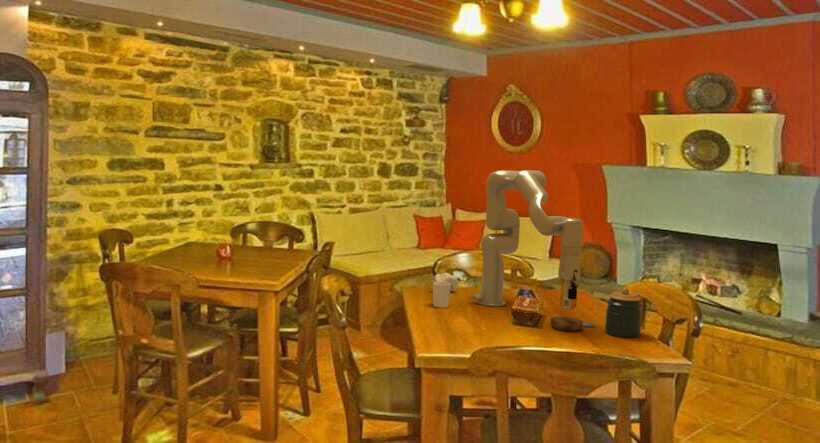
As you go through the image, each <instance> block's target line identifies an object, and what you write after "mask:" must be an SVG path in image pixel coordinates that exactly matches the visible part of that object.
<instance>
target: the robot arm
mask: <svg viewBox="0 0 820 443" xmlns="http://www.w3.org/2000/svg"><path fill="white" fill-rule="evenodd" d="M547 180H548V179H547V177H546V174H544V172H542V171H541V170H529V169H525V170H507V169H505V170H496V171H493V172H491V173H490V174H489V175H488V177H487V178H486V182H485V191H486V211H485V212H486V213H485V215H486V216H485V224H486V227H487V228H488V229H489V231H490V230H491V231H502V232H495V233H488V234H486V235H484V236H483V238H482V239H481V242H480V244H481V246H480V247H481V253H482V273H481V291H479V293H477V294H470V299H473V300H477V301H476V302H477V304H478V305H482V306H484V307H503V306H505V305H506V304H507V301H506V300H504V299H503V293H504V275H505V274H504V273H505V263H504V262H505V261H504V259H503V257H502V256H501V255H508V254H509V255H511V254H514V253H515V252H517V250H518V249H519V243H520V231H521V230H520V226H521V220H520V216H519V213H518V212H517V211H516V210H515V209H513V208H507V198H506V195H505V193H504V191H519V192H520V194H521V196H522V197H523V198H524V199H525V201H526V202H527V204H528V205H529V207H528V213H529V220H530V222H531V223H532V225H533V226H534V227H535V229H536V230H537V232H538V233H540V234H541V235H542V236H545V237H548V236H549V237H551V236H553V237H555V236H561V248H560V258H559V263H558V275H557V276H558V277H559V278H560V279H561V278H562V272H564V280H565V281H569V287H570V289H569V290H568V299H576V298H578V288H579V284H580V279H581V278H580V277H581V256H582V247H583V231H584V229H583V228H584V222H583V220H582V219H580V218H570V217H567V216H563V215H562V216H561V215H560V216H557V215H556V216H555V215H554V216H551V215H550V216H548V215H547V214H546V213H545V211H544V210H543V208H542V206H544V205H545V204H546V202H548V199H549V195H548V192H547V191H546V190H545V188H546V186H547V184H548V181H547ZM572 279H575V280H572ZM572 282H574V283H573V284H572Z"/></svg>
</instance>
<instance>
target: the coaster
mask: <svg viewBox="0 0 820 443" xmlns="http://www.w3.org/2000/svg"><path fill="white" fill-rule="evenodd" d="M582 321H583V327H582V328H594V327H596V323H595V322H591V321H586V320H585V321H584V320H582Z"/></svg>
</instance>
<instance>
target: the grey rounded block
mask: <svg viewBox="0 0 820 443" xmlns="http://www.w3.org/2000/svg"><path fill="white" fill-rule="evenodd" d="M434 282H448V283H451V290H450V291H451V292H454V291H455V290H456V289H457V288H458V285H459V281H458V278H457V277H456V275H453V274H450V273H449V272H444V273H441V274H440V273H437V274H435V276H434Z"/></svg>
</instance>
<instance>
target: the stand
mask: <svg viewBox="0 0 820 443" xmlns="http://www.w3.org/2000/svg"><path fill="white" fill-rule="evenodd" d="M583 321H584V320H582V319H579V318H577V317H572V316H571V317H570V316H560V315H559V316H553V317H552V316H551V318H550V325H551V326H552V327H553V329H554V330H558V331H562V332H568V333H570V332H571V333H573V332H574V333H575V332H578V331H580V330H581V329H583V328H584V327H583Z"/></svg>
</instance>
